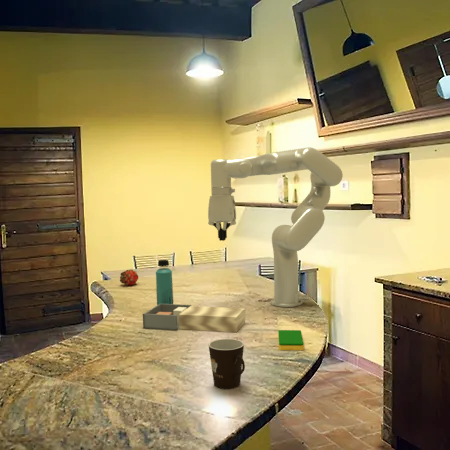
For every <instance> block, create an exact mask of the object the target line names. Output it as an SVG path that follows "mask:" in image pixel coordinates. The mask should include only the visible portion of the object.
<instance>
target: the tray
mask: <svg viewBox="0 0 450 450" xmlns="http://www.w3.org/2000/svg"><path fill="white" fill-rule="evenodd" d="M190 306H192V305H191V304H178V303H177V304H176V303H175V304H174V303H173V304H159V305H157V304H156V306H154V307H151V309H148V310H147V311H146V312H144V313H142V326H143V329H145V330H147V329H148V330H164V331H165V330H167V331H178V330H180V329H179V325H177V315H173V310H175V309H176V308H178V307H187V308H189V307H190ZM158 312H172V315H161V314H157V313H158Z"/></svg>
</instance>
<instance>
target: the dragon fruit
mask: <svg viewBox="0 0 450 450" xmlns="http://www.w3.org/2000/svg"><path fill="white" fill-rule="evenodd" d="M138 280H139V275H138V273H137V271H135V270H134V269H131V268H130V269H127V270H124V271H122V272H121V273H120V276H119V282H120V283H121V284H124V285H125V286H126V287H129V286H135V285H136V283H137V282H138Z"/></svg>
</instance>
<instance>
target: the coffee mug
mask: <svg viewBox="0 0 450 450" xmlns="http://www.w3.org/2000/svg"><path fill="white" fill-rule="evenodd" d="M244 346H245V343H244V342H243V340H239V339H234V338H221V339H216V340H213V341H210V342H209V343H208V350H209V357H210V358H209V359H210V365H211V372H212V378H213V385H214V387H215V388H217V389H221V390H233V389H237V388H238V387H240V385H241V379H242V374H243V373H244V372H245V370H246V365H245V360H244V359H243V358H244V357H243V356H244Z"/></svg>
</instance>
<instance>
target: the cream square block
mask: <svg viewBox="0 0 450 450" xmlns="http://www.w3.org/2000/svg"><path fill="white" fill-rule="evenodd" d="M186 309H187V307H178V308H176V309H175V310H173V315H177V325H179V314H180V313H182V312H183V311H184V310H186Z"/></svg>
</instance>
